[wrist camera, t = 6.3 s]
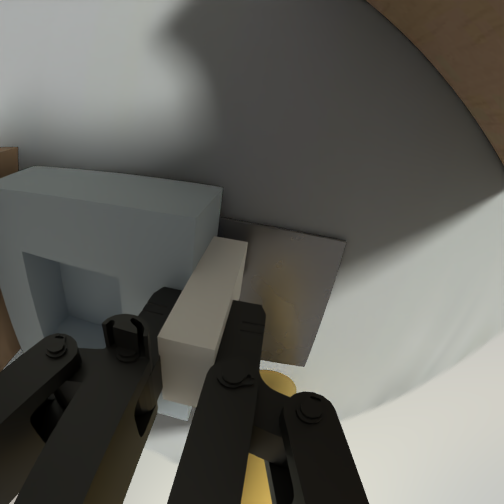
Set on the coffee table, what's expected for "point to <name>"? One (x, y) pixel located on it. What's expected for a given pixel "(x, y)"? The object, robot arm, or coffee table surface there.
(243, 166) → the coffee table surface
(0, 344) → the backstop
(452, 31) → the decorative block
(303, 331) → the dark grey flat board
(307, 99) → the coffee table surface
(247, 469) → the dowel
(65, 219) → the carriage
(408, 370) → the coffee table surface
